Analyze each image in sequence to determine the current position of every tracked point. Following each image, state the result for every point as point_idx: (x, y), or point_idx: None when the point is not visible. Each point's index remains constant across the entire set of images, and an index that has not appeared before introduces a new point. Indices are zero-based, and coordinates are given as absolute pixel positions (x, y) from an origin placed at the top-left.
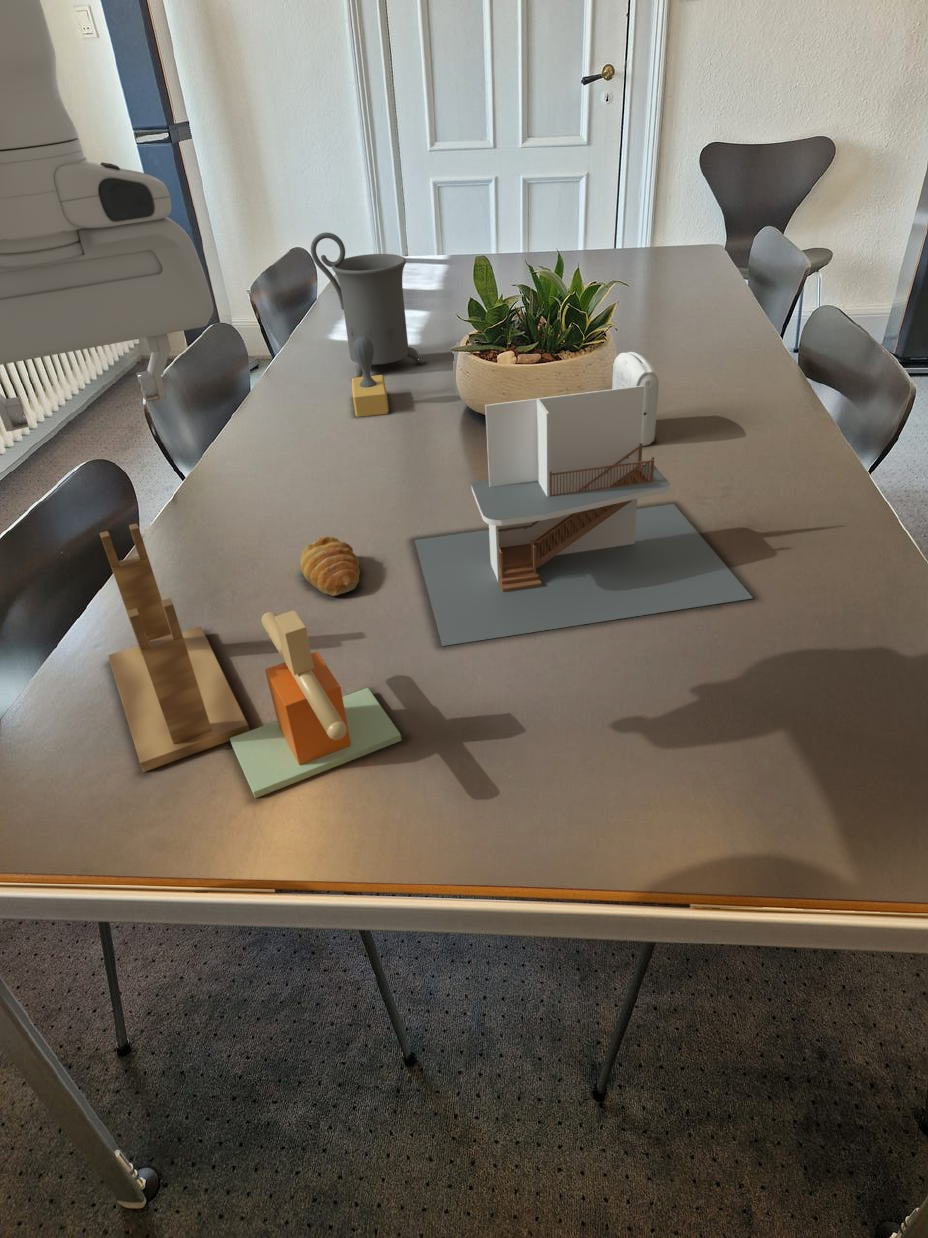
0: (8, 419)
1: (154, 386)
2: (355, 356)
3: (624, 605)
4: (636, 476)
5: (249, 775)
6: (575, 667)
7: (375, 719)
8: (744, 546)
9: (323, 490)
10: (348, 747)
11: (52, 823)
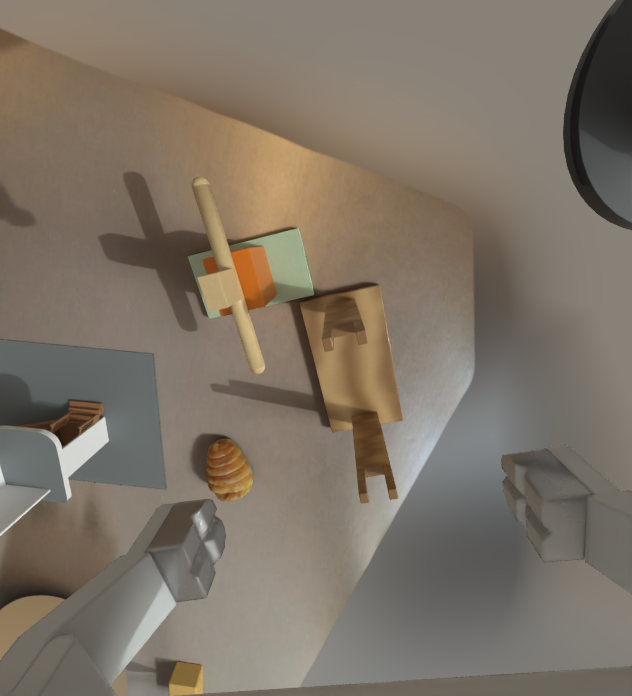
0: (568, 463)
1: (165, 526)
2: None
3: (10, 355)
4: None
5: (300, 247)
6: (55, 296)
7: None
8: None
9: (234, 576)
10: None
11: (443, 250)
